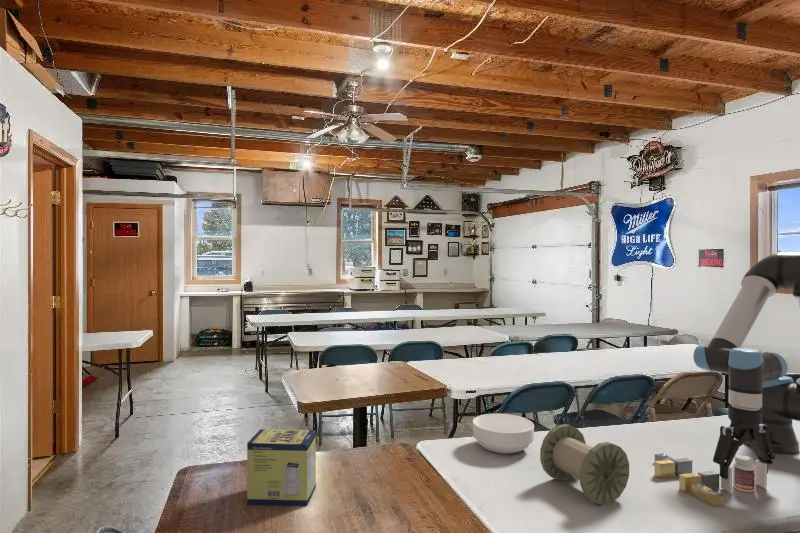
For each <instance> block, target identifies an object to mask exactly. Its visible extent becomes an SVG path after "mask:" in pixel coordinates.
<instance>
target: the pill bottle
mask: <svg viewBox="0 0 800 533" xmlns="http://www.w3.org/2000/svg"><path fill="white" fill-rule="evenodd" d="M734 461H735V462H733V466H732V487H734V488H735V489H736V490H738V491H741V492H744V493H745V492H746V493H754V492H755V490H756V486H755V485H756V484H755V465H754V459H753V458H752V457H750V456H748V455H744V454H742V455H741V454H736V455H735V457H734Z"/></svg>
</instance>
